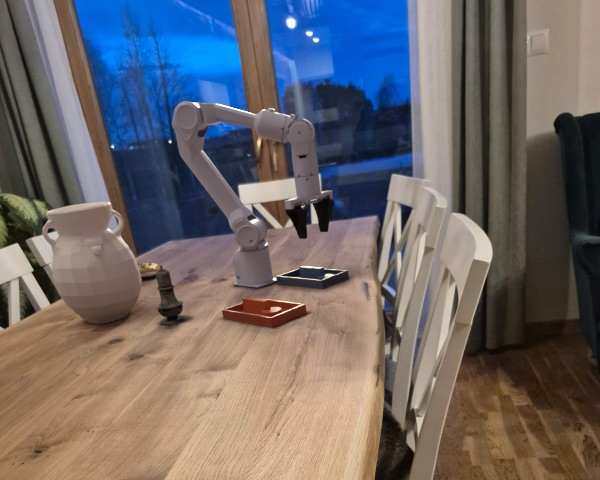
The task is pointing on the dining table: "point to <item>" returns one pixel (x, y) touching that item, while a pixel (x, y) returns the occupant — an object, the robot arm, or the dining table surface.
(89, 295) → the white handled vase
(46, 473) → the dining table surface
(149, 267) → the cake
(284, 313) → the terracotta tray
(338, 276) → the slate tray
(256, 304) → the orange stepped block
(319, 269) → the dark blue stepped block
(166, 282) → the salt shaker
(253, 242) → the robot arm
